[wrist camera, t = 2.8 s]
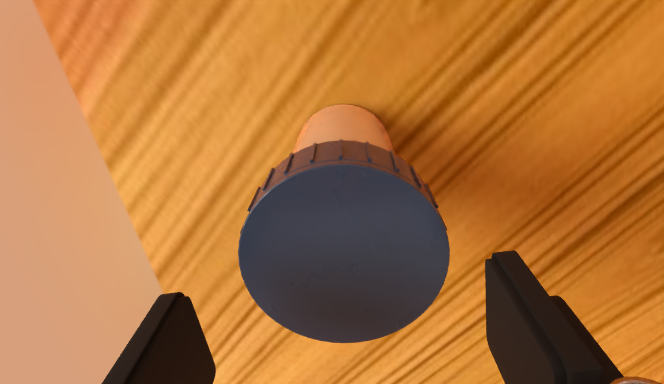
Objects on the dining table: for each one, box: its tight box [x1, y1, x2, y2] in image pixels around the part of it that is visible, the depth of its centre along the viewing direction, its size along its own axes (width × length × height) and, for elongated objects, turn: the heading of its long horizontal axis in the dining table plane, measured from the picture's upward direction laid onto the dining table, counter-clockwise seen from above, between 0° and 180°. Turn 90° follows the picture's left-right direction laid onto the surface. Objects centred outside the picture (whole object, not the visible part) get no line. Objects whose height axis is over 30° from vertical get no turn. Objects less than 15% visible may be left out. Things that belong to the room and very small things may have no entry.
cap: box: [238, 139, 450, 343], centre depth 14 cm, size 7×7×2 cm
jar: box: [292, 104, 395, 154], centre depth 19 cm, size 6×6×11 cm
